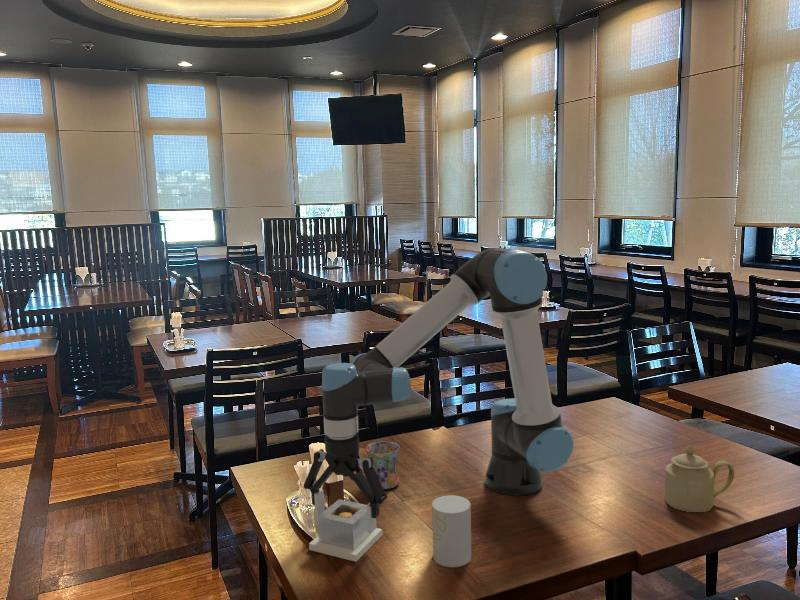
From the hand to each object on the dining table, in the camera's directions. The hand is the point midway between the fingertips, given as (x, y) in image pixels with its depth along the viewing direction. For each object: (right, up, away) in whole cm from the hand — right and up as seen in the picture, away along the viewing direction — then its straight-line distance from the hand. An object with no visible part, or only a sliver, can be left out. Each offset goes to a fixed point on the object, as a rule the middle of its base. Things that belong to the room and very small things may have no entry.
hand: (345, 524), depth 143 cm
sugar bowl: (+85, 0, +15) cm, 87 cm away
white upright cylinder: (+23, -5, -6) cm, 25 cm away
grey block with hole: (0, -3, 0) cm, 3 cm away
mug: (+8, 0, +31) cm, 32 cm away
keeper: (0, -4, +1) cm, 4 cm away
